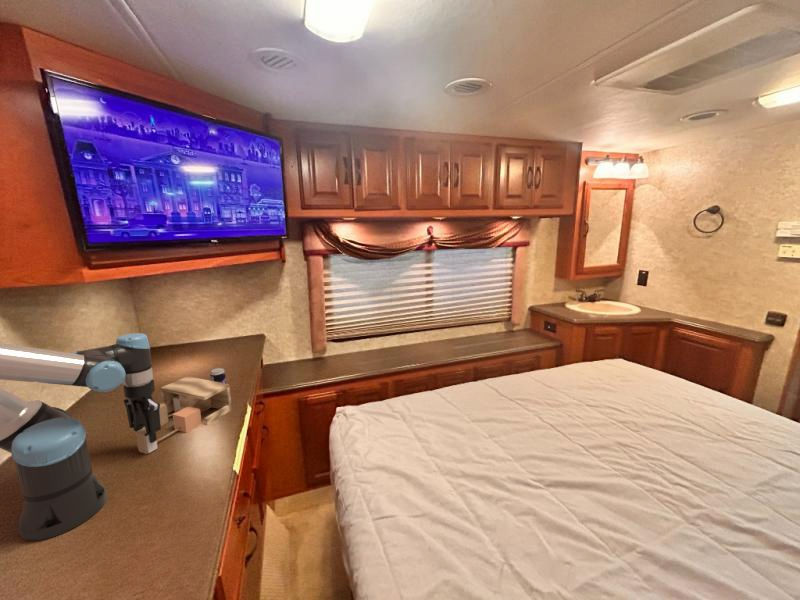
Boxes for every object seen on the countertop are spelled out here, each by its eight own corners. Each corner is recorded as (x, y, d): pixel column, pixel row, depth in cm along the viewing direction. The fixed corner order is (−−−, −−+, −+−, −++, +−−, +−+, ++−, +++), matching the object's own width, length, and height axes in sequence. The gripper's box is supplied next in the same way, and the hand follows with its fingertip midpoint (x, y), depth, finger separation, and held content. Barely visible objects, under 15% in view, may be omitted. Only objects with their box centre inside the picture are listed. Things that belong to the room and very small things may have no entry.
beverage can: (220, 399, 137) (218, 373, 135) (209, 397, 138) (206, 372, 136) (230, 393, 143) (227, 368, 141) (219, 391, 144) (216, 367, 142)
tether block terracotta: (149, 455, 101) (146, 435, 100) (136, 451, 103) (133, 431, 102) (201, 423, 119) (199, 406, 118) (189, 420, 121) (187, 403, 119)
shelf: (207, 424, 118) (204, 397, 116) (164, 413, 125) (160, 387, 123) (231, 409, 129) (229, 384, 127) (190, 400, 136) (187, 376, 134)
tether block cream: (161, 427, 117) (159, 409, 115) (150, 424, 118) (147, 407, 117) (199, 407, 131) (197, 391, 129) (188, 404, 133) (186, 389, 131)
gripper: (169, 381, 101) (177, 447, 105) (134, 374, 106) (142, 437, 110) (144, 391, 94) (153, 462, 98) (107, 383, 99) (118, 450, 103)
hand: (148, 448), depth 104 cm, fingers closed on tether block terracotta, 3 cm apart
